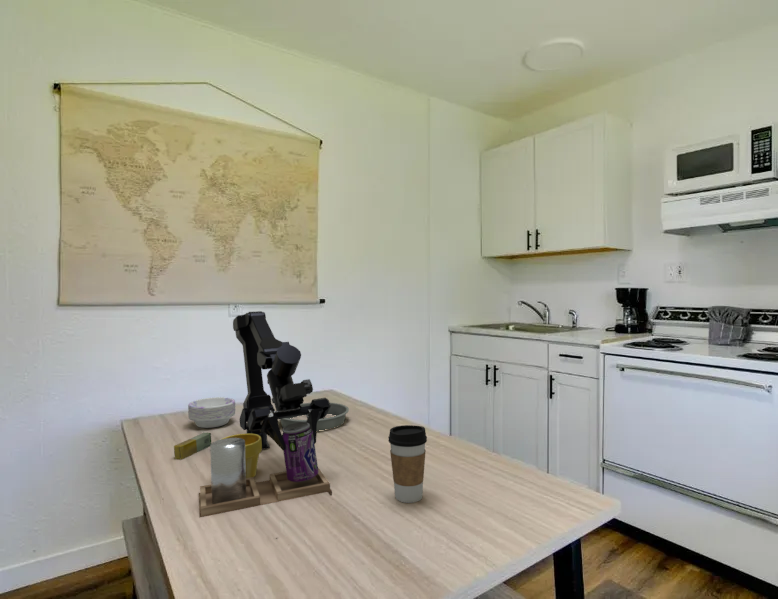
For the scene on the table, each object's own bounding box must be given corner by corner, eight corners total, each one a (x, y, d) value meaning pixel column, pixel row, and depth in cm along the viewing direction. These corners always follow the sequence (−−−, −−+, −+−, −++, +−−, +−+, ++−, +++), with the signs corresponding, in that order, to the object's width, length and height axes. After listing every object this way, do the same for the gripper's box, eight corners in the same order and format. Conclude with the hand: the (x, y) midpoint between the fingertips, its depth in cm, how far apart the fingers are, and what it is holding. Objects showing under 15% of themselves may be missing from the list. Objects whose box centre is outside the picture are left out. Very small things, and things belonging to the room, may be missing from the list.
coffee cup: (416, 509, 93) (415, 436, 92) (382, 499, 97) (380, 430, 97) (434, 493, 100) (433, 425, 100) (401, 485, 104) (400, 420, 104)
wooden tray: (198, 497, 100) (198, 486, 100) (318, 475, 111) (317, 465, 111) (199, 522, 89) (199, 509, 89) (331, 495, 100) (331, 484, 100)
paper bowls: (245, 421, 159) (244, 399, 158) (207, 433, 146) (206, 409, 146) (217, 416, 167) (216, 394, 167) (179, 427, 154) (178, 403, 154)
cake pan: (362, 418, 160) (362, 406, 160) (318, 438, 139) (317, 424, 139) (309, 410, 173) (309, 398, 173) (261, 427, 152) (260, 414, 152)
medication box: (204, 445, 135) (204, 432, 135) (212, 445, 135) (211, 432, 134) (173, 459, 124) (173, 445, 124) (181, 460, 123) (181, 446, 123)
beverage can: (303, 487, 99) (295, 434, 98) (281, 482, 103) (273, 431, 102) (325, 473, 105) (318, 422, 104) (303, 468, 109) (296, 420, 108)
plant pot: (209, 481, 109) (208, 441, 108) (247, 468, 116) (246, 430, 116) (232, 493, 102) (231, 450, 102) (271, 478, 110) (270, 438, 110)
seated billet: (211, 495, 99) (209, 440, 99) (244, 489, 102) (243, 436, 101) (212, 509, 92) (210, 450, 92) (248, 502, 95) (246, 445, 95)
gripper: (249, 373, 101) (265, 436, 92) (326, 364, 111) (347, 420, 102) (241, 401, 108) (255, 461, 99) (315, 390, 118) (333, 444, 109)
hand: (299, 446), depth 102 cm, fingers closed on beverage can, 7 cm apart
